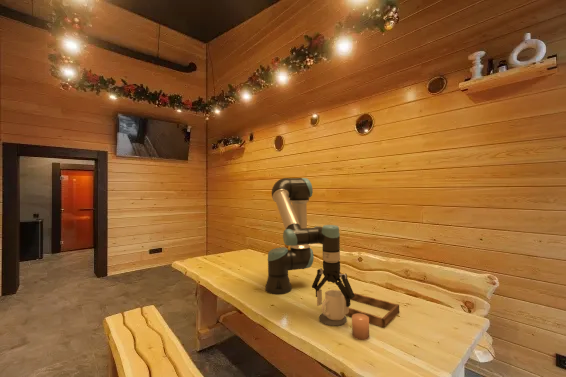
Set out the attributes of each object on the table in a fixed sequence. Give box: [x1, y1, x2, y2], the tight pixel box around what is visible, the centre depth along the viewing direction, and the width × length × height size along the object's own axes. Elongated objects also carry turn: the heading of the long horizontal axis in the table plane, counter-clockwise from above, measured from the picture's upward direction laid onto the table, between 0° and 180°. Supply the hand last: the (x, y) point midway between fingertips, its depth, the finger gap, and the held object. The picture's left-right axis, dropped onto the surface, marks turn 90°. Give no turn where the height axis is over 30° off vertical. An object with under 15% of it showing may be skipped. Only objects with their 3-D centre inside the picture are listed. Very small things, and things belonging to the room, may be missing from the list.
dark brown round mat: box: [318, 312, 348, 327], centre depth 115 cm, size 12×12×1 cm
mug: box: [321, 289, 346, 321], centre depth 115 cm, size 12×8×10 cm
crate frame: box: [344, 292, 400, 329], centre depth 122 cm, size 26×18×4 cm
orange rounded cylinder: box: [351, 313, 370, 341], centre depth 102 cm, size 6×6×7 cm
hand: (332, 309), depth 115 cm, fingers open, 13 cm apart
